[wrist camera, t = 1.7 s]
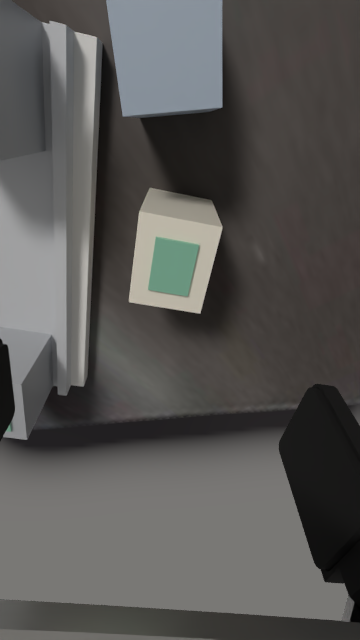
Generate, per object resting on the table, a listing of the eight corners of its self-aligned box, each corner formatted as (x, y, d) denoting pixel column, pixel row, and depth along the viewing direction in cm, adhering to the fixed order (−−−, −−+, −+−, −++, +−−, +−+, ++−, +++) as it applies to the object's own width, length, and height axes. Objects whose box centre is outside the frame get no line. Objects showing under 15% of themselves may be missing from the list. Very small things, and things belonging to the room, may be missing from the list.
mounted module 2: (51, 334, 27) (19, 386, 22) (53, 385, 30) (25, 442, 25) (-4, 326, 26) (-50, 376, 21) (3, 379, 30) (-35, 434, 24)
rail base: (102, 42, 18) (90, 31, 16) (87, 376, 32) (79, 397, 29) (-82, -2, 17) (-125, -22, 15) (-17, 361, 31) (-34, 382, 28)
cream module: (211, 199, 23) (223, 228, 17) (195, 269, 26) (200, 315, 20) (150, 187, 22) (139, 212, 16) (140, 259, 25) (128, 303, 19)
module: (207, -10, 17) (221, -79, 11) (210, 111, 20) (222, 107, 14) (125, -1, 17) (96, -65, 11) (139, 118, 20) (122, 116, 14)
